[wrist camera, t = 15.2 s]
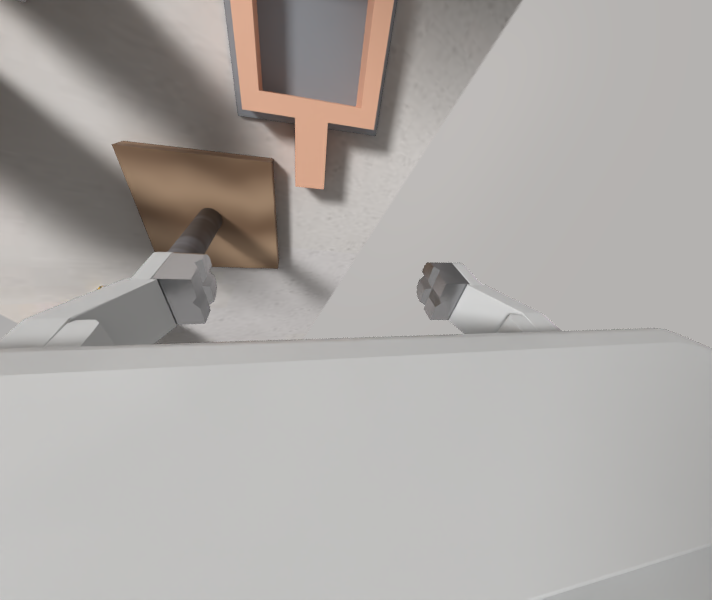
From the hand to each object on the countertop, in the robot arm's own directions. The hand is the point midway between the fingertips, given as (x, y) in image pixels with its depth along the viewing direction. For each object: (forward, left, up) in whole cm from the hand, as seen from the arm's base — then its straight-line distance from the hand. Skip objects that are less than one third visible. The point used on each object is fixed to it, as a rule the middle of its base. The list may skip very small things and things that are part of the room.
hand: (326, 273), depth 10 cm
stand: (+8, -11, -24) cm, 27 cm away
